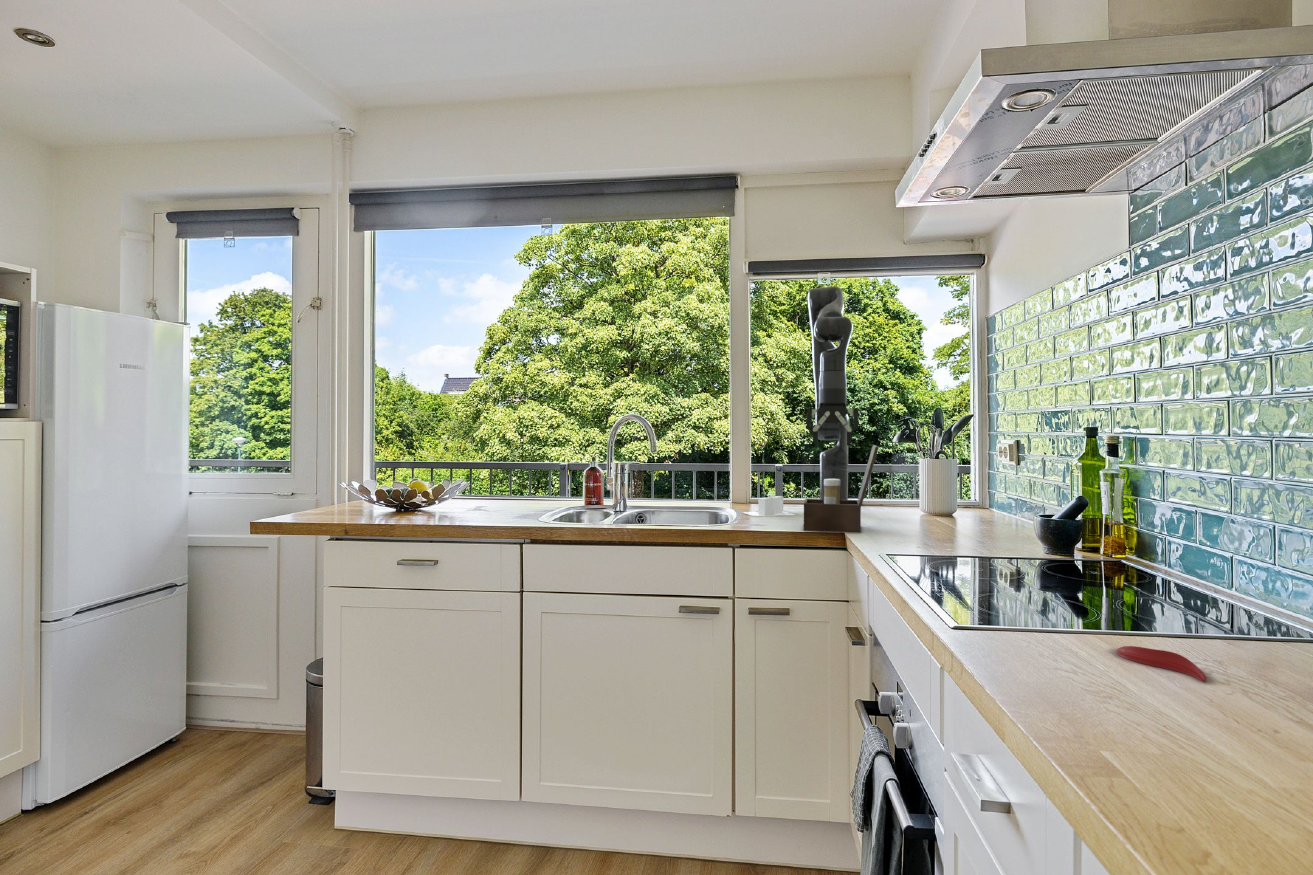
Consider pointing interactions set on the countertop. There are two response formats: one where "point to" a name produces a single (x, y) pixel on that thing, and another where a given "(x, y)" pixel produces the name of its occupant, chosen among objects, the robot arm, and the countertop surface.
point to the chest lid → (867, 473)
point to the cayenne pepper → (1161, 660)
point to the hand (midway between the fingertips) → (832, 445)
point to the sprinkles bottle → (832, 491)
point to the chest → (832, 516)
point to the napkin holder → (770, 507)
